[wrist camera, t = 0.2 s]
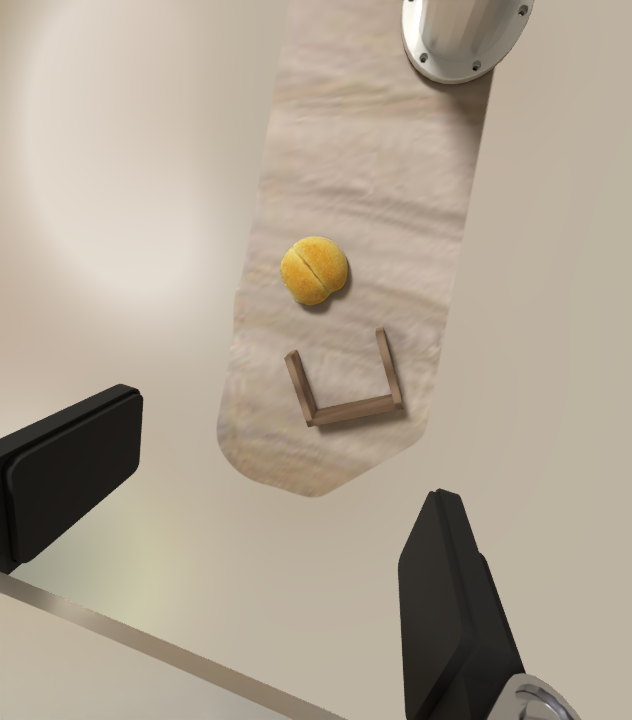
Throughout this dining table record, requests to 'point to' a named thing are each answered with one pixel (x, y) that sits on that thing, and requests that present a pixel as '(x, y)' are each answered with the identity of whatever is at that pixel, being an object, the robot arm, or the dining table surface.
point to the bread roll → (314, 269)
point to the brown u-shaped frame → (348, 409)
